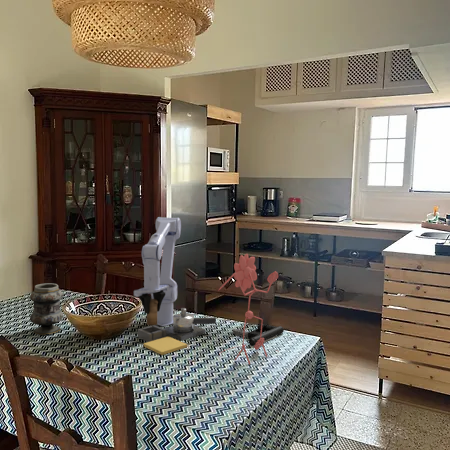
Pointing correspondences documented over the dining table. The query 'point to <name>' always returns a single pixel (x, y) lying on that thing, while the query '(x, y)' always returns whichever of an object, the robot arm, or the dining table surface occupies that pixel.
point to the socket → (151, 333)
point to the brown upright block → (152, 313)
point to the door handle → (254, 335)
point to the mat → (165, 345)
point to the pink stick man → (244, 280)
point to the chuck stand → (184, 333)
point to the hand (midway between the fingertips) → (151, 312)
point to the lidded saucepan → (188, 321)
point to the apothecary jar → (46, 308)
